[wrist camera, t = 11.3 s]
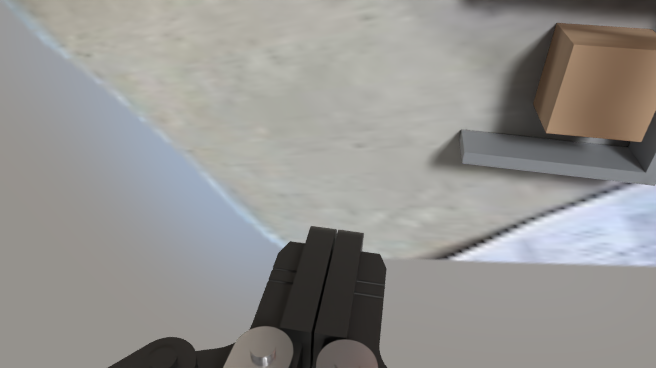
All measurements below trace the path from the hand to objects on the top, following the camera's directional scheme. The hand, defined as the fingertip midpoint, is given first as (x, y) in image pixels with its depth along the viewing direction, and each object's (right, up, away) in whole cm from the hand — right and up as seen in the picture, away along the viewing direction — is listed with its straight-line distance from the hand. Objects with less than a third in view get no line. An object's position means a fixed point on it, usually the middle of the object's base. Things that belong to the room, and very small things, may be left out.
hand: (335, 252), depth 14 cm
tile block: (+15, +9, +15) cm, 23 cm away
